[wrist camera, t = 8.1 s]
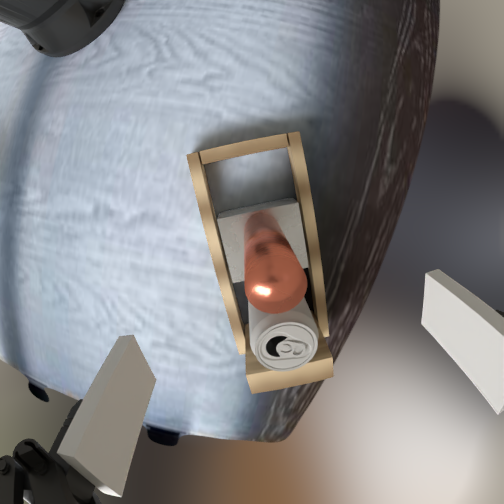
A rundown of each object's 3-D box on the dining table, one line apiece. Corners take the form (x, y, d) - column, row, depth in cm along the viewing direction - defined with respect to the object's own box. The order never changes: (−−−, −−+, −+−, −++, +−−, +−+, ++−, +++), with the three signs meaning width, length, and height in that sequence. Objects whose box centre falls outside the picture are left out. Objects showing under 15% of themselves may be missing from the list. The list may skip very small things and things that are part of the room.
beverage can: (254, 261, 34) (260, 312, 23) (305, 272, 35) (332, 325, 23) (242, 307, 36) (242, 369, 24) (290, 316, 37) (307, 378, 25)
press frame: (190, 155, 30) (167, 153, 20) (294, 133, 29) (317, 122, 20) (239, 343, 38) (239, 395, 28) (324, 325, 37) (345, 373, 28)
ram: (220, 212, 32) (196, 267, 16) (291, 197, 31) (341, 237, 15) (233, 269, 34) (227, 363, 18) (301, 255, 34) (348, 337, 18)
